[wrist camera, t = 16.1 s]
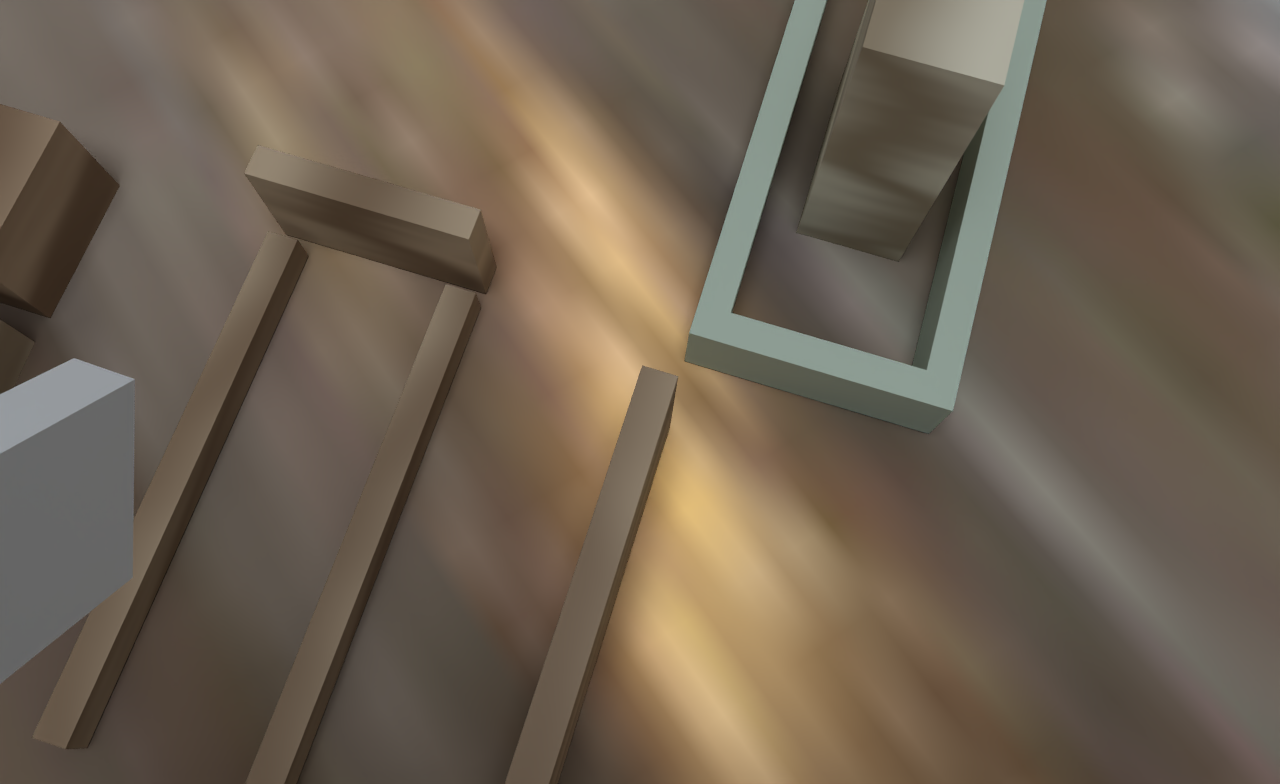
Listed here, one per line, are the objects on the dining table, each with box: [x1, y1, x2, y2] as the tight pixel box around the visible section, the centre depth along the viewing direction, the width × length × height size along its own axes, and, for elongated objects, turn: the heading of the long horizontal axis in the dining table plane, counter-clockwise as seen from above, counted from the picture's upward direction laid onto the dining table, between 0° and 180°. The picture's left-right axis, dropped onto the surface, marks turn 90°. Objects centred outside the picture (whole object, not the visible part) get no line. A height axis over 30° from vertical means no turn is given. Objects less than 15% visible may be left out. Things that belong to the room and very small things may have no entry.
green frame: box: [685, 0, 1047, 434], centre depth 34 cm, size 8×17×2 cm, turn 163°
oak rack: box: [32, 145, 678, 784], centre depth 29 cm, size 26×18×5 cm
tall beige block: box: [796, 0, 1024, 262], centre depth 31 cm, size 4×6×10 cm, turn 162°
